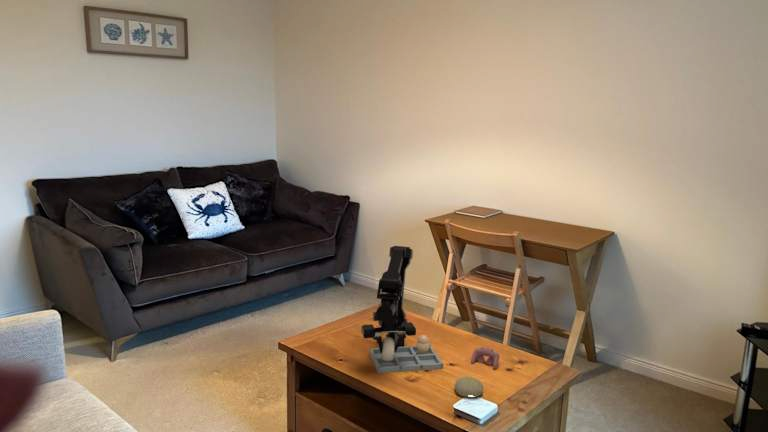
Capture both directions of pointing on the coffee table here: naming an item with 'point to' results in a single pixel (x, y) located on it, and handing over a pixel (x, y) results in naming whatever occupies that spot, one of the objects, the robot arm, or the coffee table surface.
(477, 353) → the video game controller
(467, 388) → the sea urchin shell
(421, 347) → the beige rounded cylinder
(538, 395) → the coffee table surface
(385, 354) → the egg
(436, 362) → the grey compartment tray
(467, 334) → the coffee table surface
